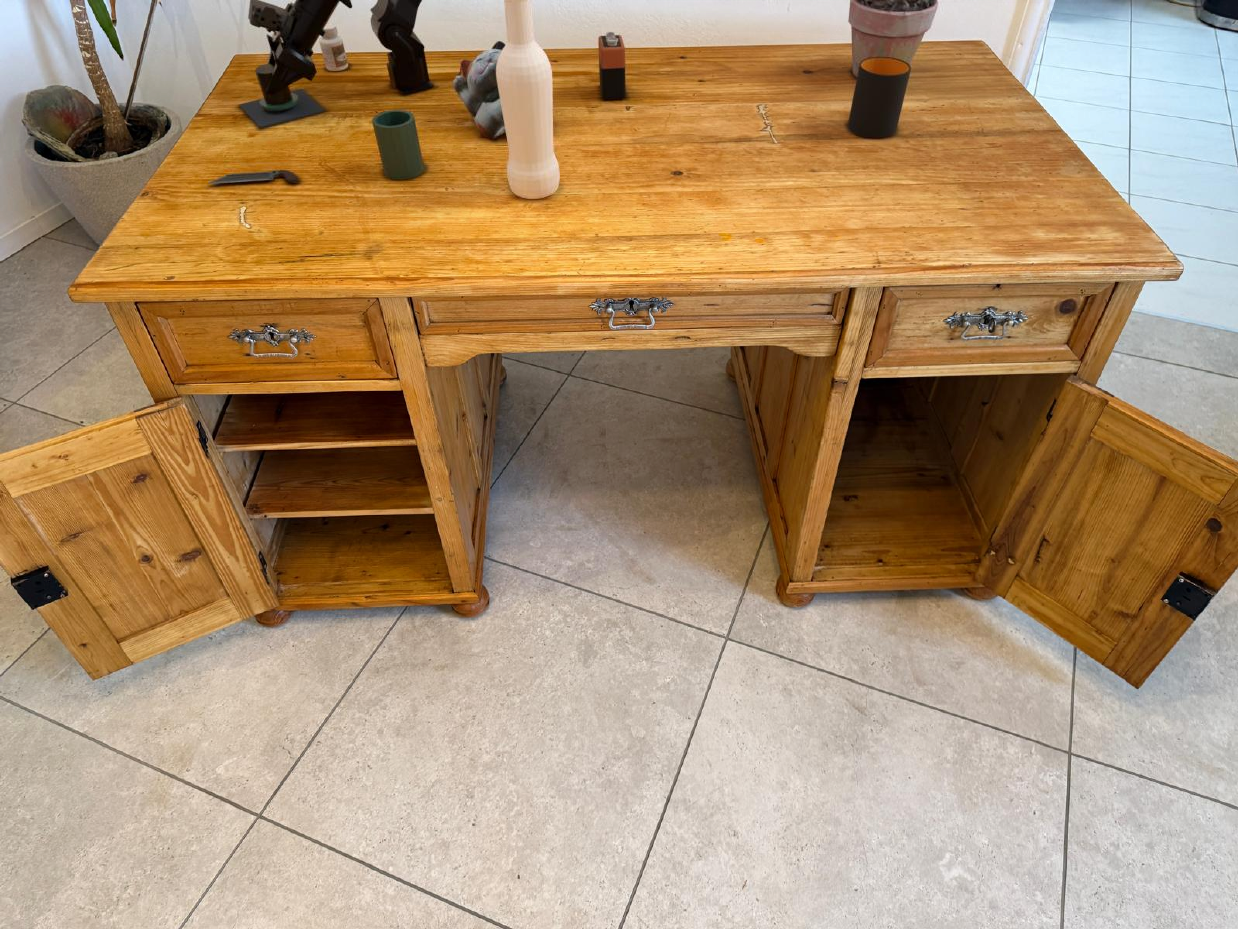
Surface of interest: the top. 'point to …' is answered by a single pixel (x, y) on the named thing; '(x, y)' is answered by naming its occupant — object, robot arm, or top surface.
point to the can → (398, 144)
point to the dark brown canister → (279, 99)
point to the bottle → (527, 106)
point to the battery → (612, 66)
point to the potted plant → (888, 28)
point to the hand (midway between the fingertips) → (267, 88)
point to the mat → (271, 118)
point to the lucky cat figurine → (482, 91)
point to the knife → (256, 177)
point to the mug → (878, 97)
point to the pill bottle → (333, 49)
